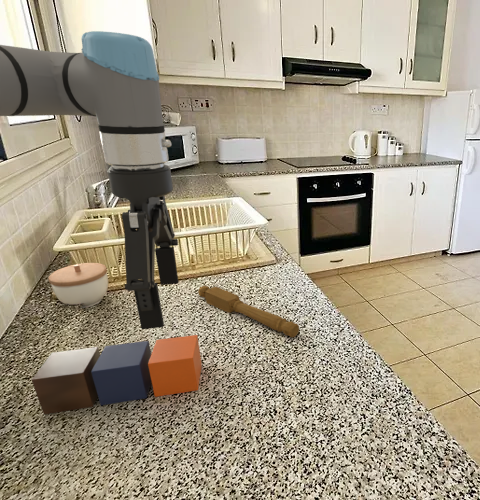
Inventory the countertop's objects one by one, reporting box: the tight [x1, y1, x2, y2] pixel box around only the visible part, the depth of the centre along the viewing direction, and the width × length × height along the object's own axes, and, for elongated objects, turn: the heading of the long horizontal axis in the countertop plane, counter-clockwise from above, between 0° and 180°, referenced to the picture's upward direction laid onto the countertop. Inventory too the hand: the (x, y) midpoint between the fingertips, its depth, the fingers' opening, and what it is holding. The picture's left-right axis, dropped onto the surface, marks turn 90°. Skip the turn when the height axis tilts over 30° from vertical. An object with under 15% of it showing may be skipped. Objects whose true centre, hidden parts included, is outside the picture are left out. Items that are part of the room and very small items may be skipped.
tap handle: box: [197, 285, 300, 338], centre depth 83 cm, size 3×3×30 cm
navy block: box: [91, 340, 152, 406], centre depth 60 cm, size 6×6×6 cm
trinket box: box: [48, 262, 109, 309], centre depth 85 cm, size 11×11×9 cm
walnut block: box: [31, 346, 101, 415], centre depth 58 cm, size 6×6×6 cm
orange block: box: [148, 334, 203, 398], centre depth 62 cm, size 6×6×6 cm
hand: (162, 303), depth 58 cm, fingers open, 13 cm apart
